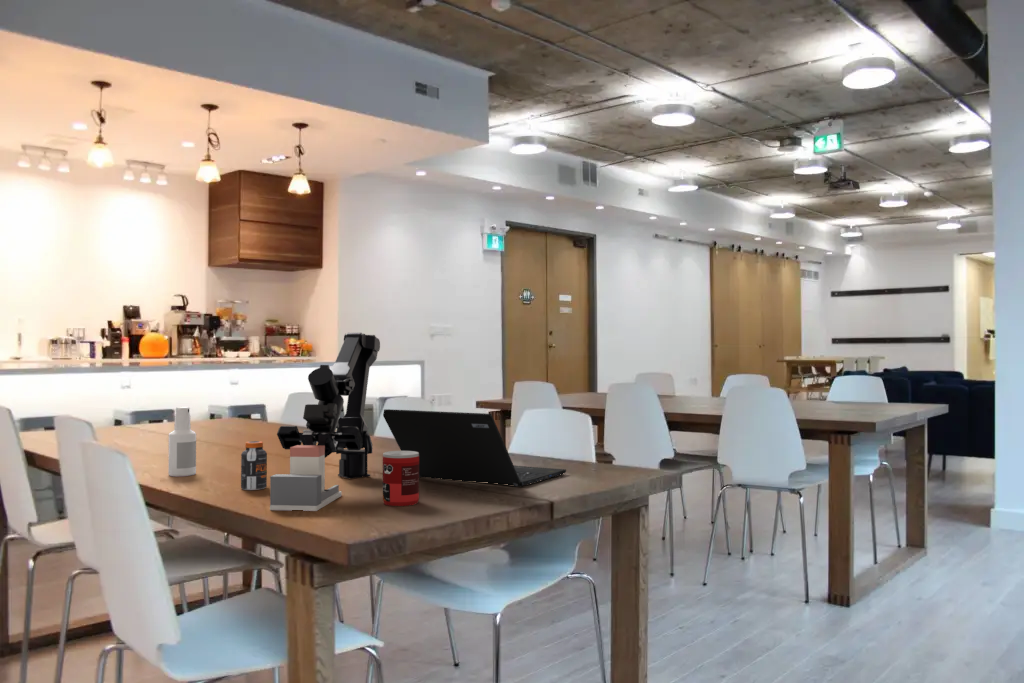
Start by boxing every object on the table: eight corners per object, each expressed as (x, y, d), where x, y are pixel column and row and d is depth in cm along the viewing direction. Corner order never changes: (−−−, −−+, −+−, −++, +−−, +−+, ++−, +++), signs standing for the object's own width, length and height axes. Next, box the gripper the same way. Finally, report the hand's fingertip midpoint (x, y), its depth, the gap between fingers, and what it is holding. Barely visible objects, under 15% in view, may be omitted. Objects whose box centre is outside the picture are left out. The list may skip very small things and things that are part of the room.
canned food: (386, 499, 177) (386, 450, 177) (421, 499, 177) (421, 450, 177) (379, 506, 170) (379, 455, 170) (416, 506, 169) (416, 455, 169)
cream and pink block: (296, 494, 176) (296, 445, 176) (324, 495, 175) (324, 445, 175) (289, 498, 172) (290, 447, 172) (318, 498, 171) (318, 447, 171)
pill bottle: (258, 491, 188) (258, 443, 188) (236, 490, 189) (236, 442, 189) (271, 486, 194) (271, 440, 194) (249, 485, 195) (249, 439, 195)
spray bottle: (189, 476, 208) (189, 408, 208) (163, 476, 208) (164, 408, 208) (200, 472, 215) (200, 406, 215) (175, 472, 215) (175, 406, 215)
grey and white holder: (299, 494, 183) (299, 464, 183) (341, 495, 182) (341, 465, 182) (269, 510, 166) (269, 476, 166) (316, 510, 165) (316, 477, 165)
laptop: (567, 476, 212) (567, 404, 212) (491, 499, 180) (491, 414, 180) (466, 466, 229) (466, 399, 229) (379, 485, 197) (379, 408, 197)
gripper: (280, 390, 182) (260, 444, 171) (359, 391, 181) (344, 445, 169) (292, 422, 190) (274, 475, 179) (368, 422, 188) (354, 476, 177)
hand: (311, 467), depth 176 cm, fingers closed, pressing on cream and pink block
